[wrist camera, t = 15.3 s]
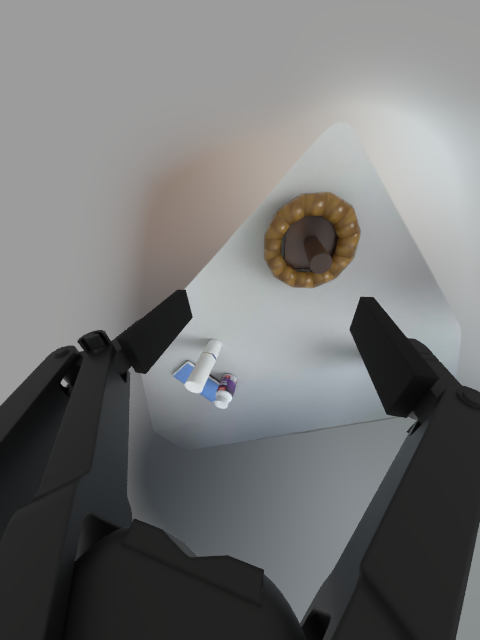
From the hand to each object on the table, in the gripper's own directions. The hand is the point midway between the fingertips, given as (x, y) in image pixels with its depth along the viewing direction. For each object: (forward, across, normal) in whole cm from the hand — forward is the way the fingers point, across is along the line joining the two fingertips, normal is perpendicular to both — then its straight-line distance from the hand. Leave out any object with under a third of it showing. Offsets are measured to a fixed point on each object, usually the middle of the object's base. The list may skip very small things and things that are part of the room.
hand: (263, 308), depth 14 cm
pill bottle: (+25, -14, -43) cm, 52 cm away
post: (+25, +6, 0) cm, 26 cm away
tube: (+25, -18, -28) cm, 41 cm away
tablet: (+25, -26, -47) cm, 59 cm away
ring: (+22, +5, 0) cm, 23 cm away
